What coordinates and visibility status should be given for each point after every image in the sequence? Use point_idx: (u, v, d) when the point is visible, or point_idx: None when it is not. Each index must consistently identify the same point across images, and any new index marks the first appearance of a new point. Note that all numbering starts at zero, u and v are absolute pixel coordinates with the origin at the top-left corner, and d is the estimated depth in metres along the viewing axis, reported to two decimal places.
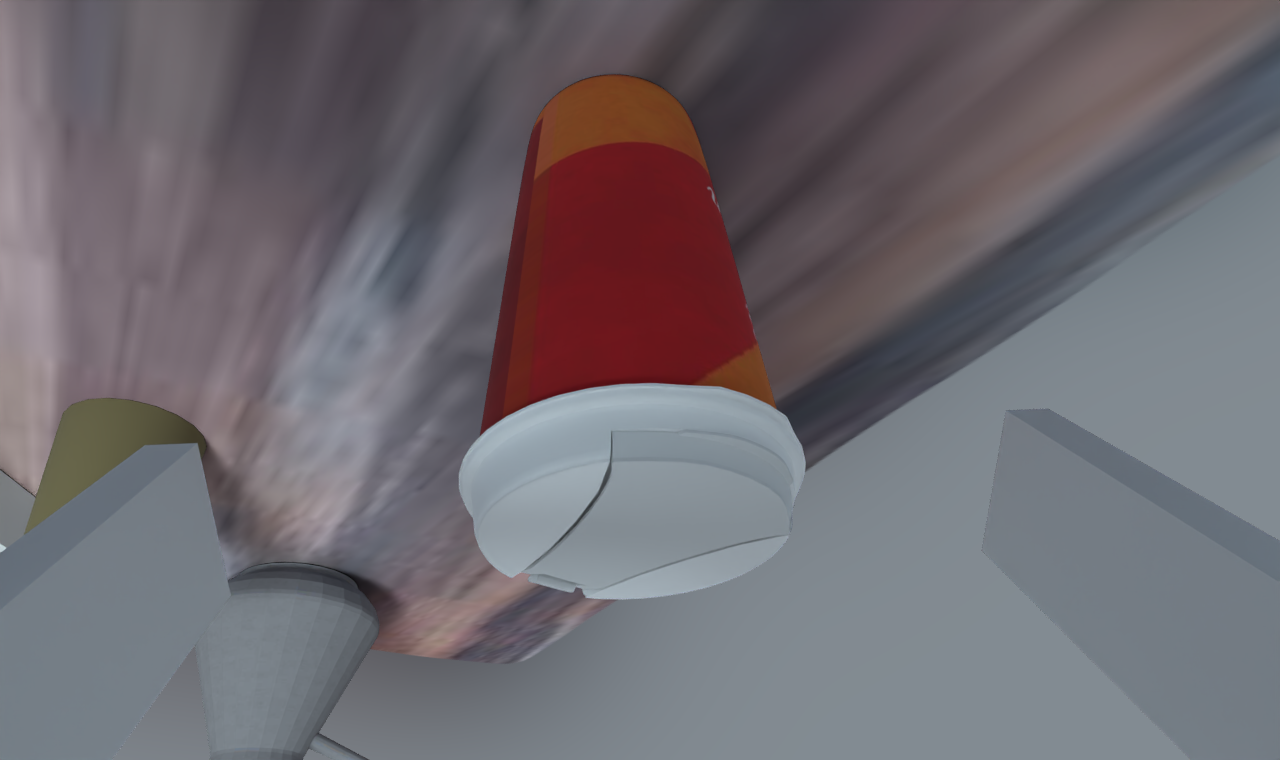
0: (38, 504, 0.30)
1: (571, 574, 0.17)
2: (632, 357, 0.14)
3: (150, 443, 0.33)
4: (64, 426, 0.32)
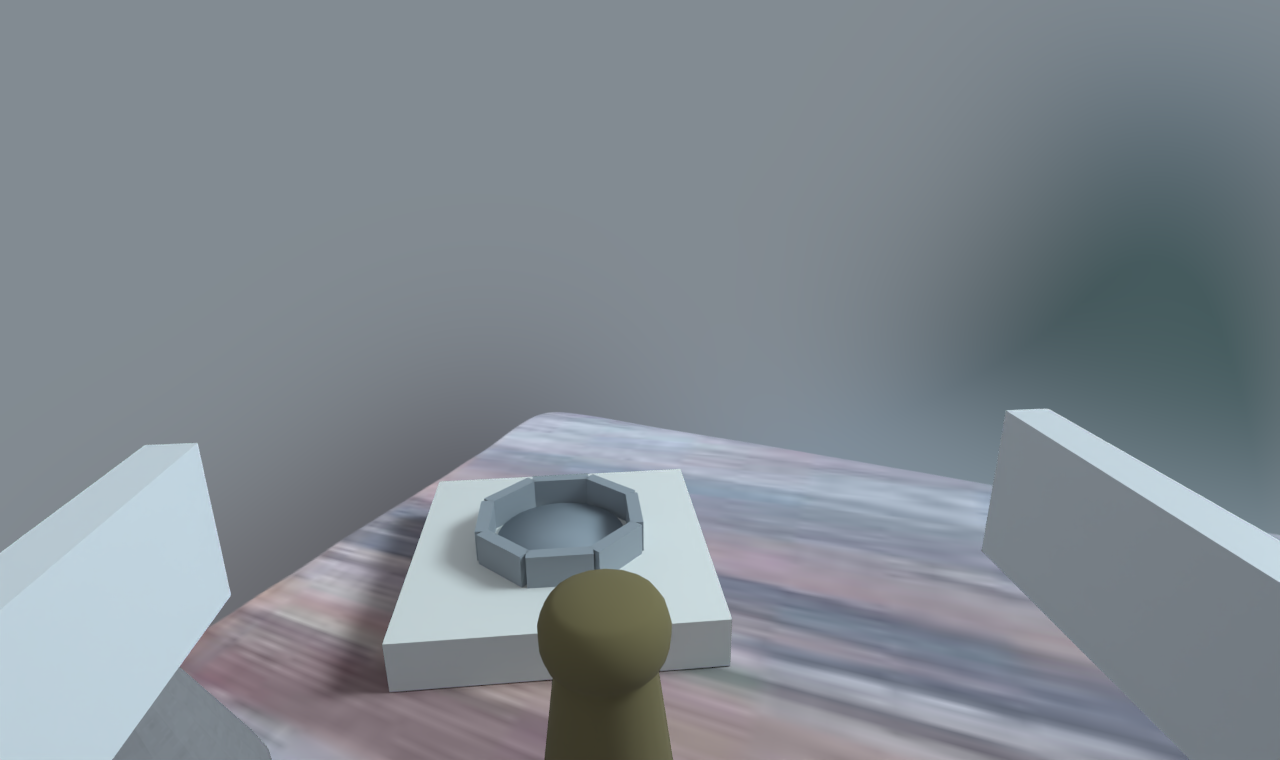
0: None
1: None
2: None
3: None
4: None
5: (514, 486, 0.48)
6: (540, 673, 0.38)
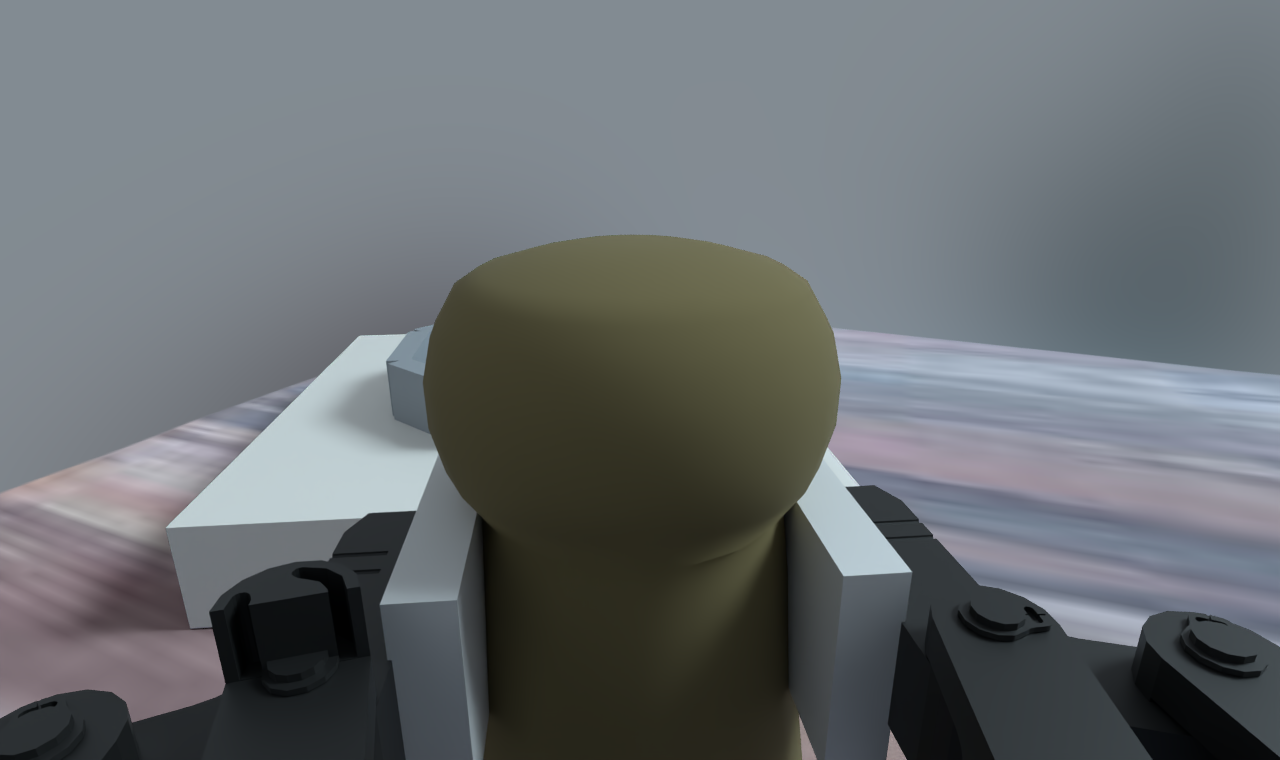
0: None
1: None
2: None
3: None
4: None
5: None
6: None
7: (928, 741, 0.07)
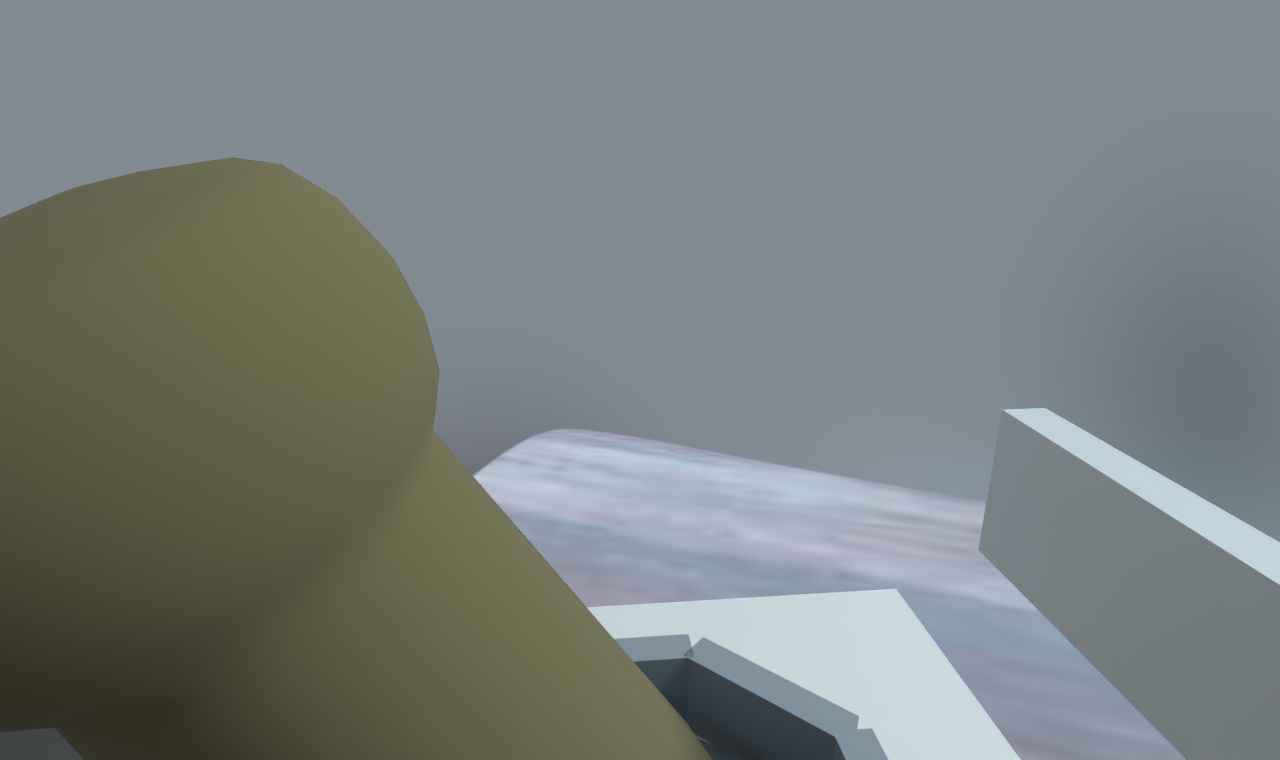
0: (546, 562, 0.10)
1: None
2: None
3: None
4: (658, 691, 0.12)
5: None
6: None
7: None
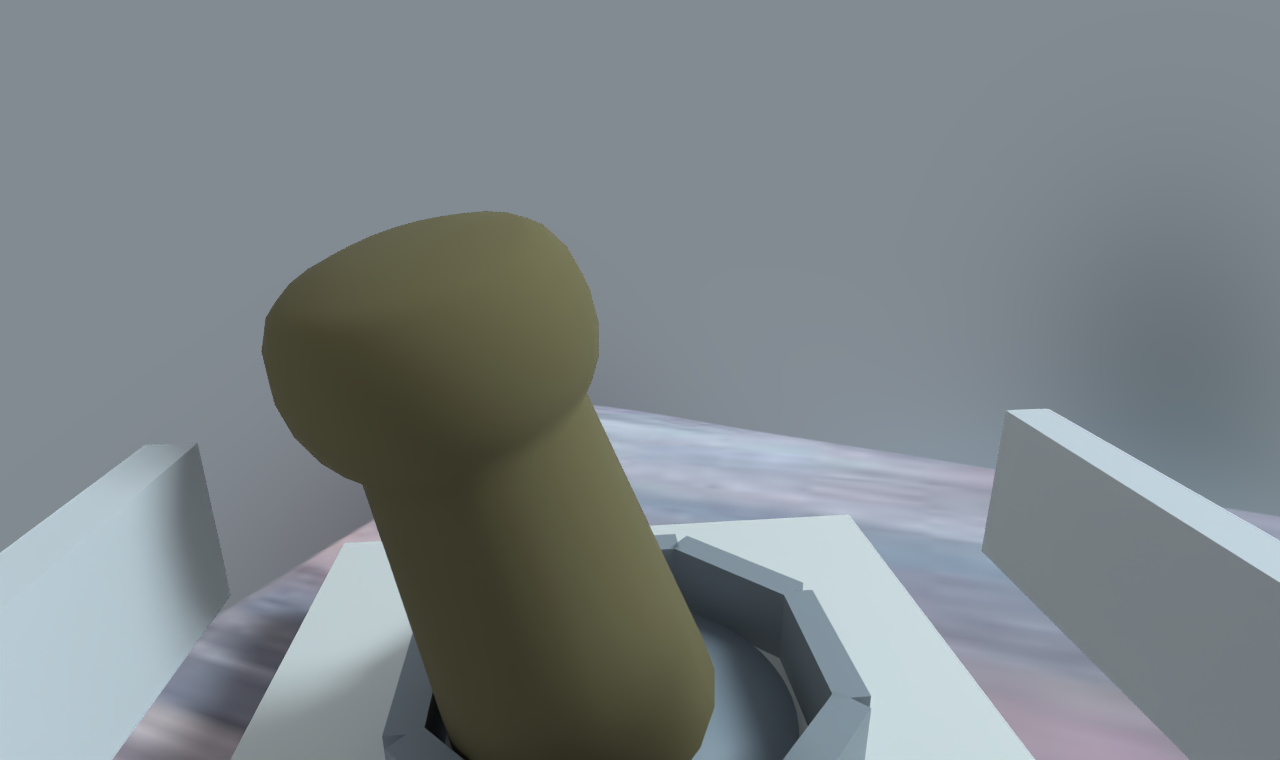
0: (632, 490, 0.15)
1: None
2: None
3: (626, 739, 0.13)
4: (686, 606, 0.16)
5: None
6: None
7: None
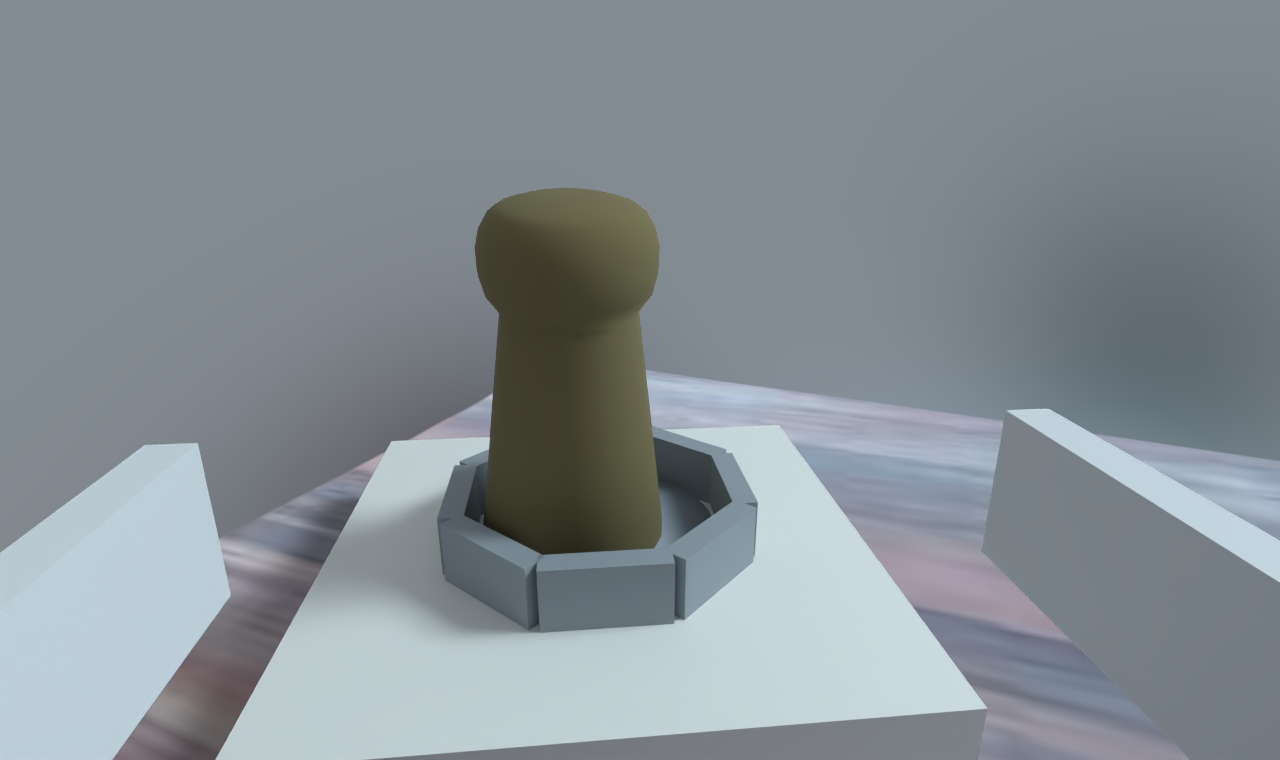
0: (647, 393, 0.23)
1: None
2: None
3: (589, 530, 0.21)
4: (658, 491, 0.24)
5: None
6: None
7: None
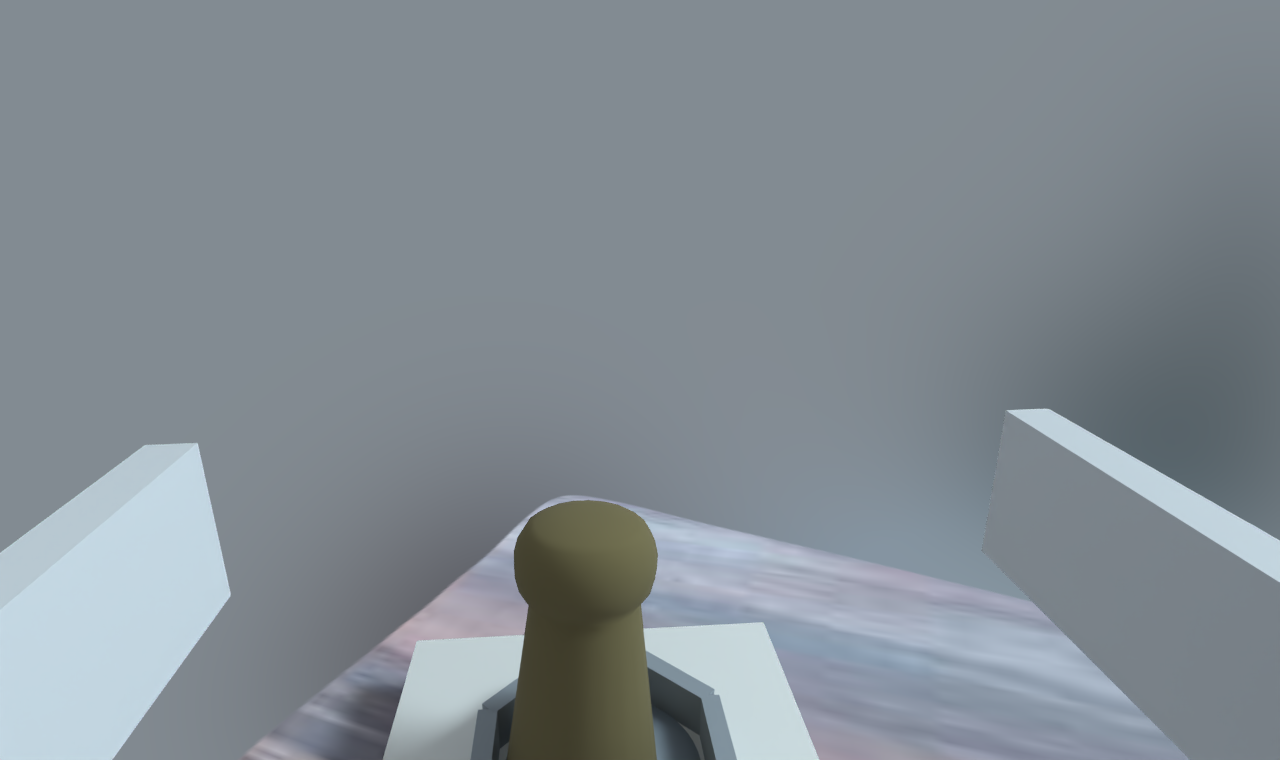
0: None
1: None
2: None
3: None
4: (655, 748, 0.28)
5: None
6: None
7: None
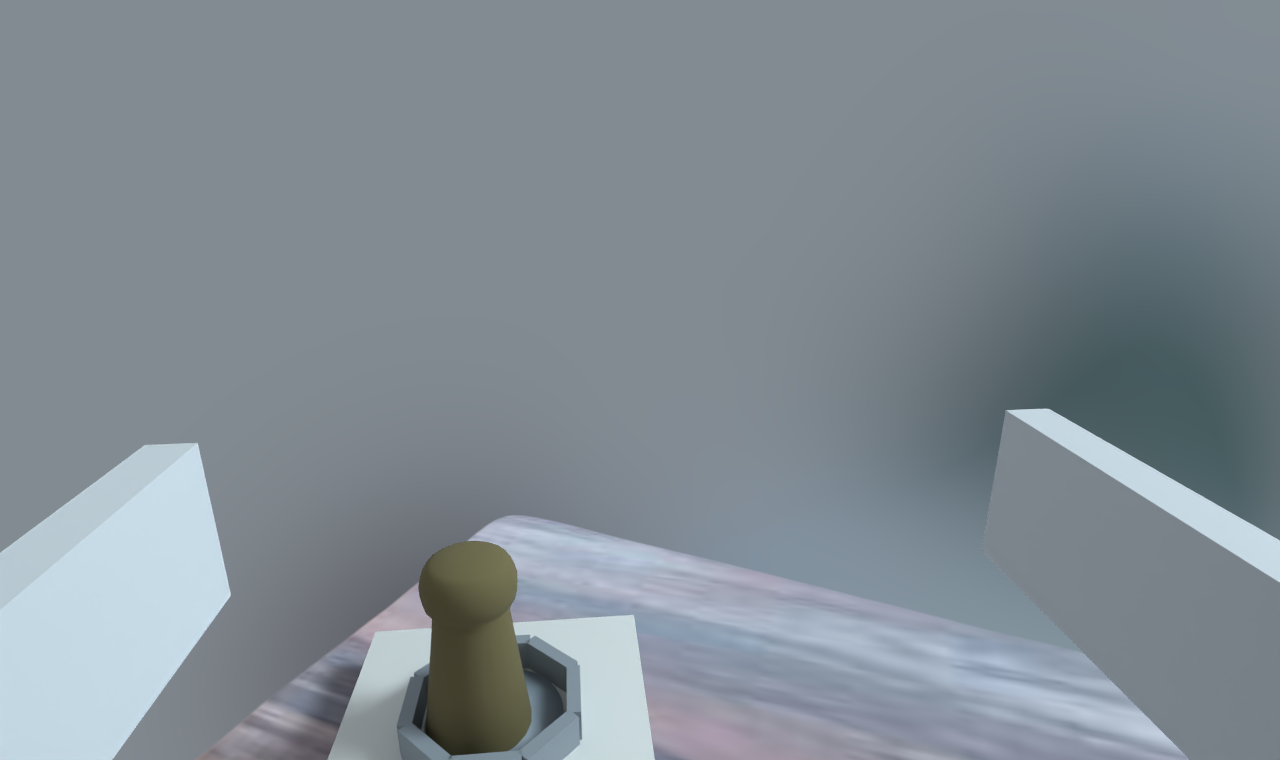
0: (516, 652, 0.40)
1: None
2: None
3: (474, 733, 0.39)
4: (528, 706, 0.42)
5: None
6: None
7: None
